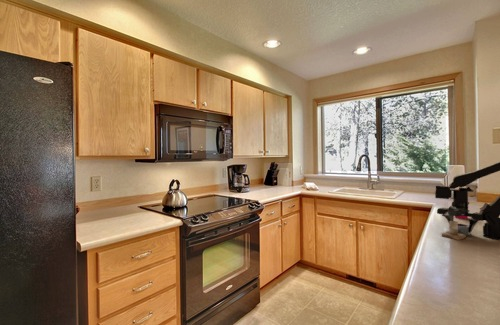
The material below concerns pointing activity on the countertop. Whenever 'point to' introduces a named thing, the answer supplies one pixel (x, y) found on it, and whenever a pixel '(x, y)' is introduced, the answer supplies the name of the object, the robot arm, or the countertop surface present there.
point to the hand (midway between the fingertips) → (460, 230)
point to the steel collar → (463, 229)
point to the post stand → (453, 231)
